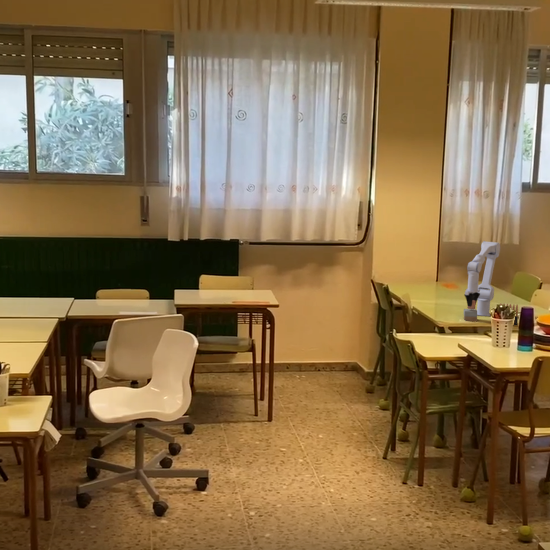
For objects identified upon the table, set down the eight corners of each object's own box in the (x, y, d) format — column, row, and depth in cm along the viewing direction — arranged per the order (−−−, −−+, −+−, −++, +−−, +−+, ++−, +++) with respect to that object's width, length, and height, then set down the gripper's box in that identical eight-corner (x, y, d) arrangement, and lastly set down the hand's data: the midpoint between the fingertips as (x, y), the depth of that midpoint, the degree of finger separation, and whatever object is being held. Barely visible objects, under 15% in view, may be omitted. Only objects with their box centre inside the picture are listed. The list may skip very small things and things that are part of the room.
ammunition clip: (517, 324, 393) (518, 304, 391) (517, 325, 391) (519, 304, 389) (497, 323, 395) (499, 302, 393) (497, 324, 393) (499, 303, 391)
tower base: (463, 318, 407) (464, 313, 406) (476, 319, 405) (476, 314, 405) (464, 321, 400) (464, 316, 399) (476, 322, 398) (477, 317, 398)
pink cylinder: (467, 307, 404) (467, 299, 403) (475, 307, 403) (475, 300, 402) (467, 308, 400) (468, 301, 399) (475, 309, 399) (476, 301, 398)
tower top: (463, 313, 406) (463, 308, 406) (475, 314, 405) (476, 309, 404) (464, 316, 399) (464, 311, 399) (477, 317, 398) (477, 311, 398)
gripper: (472, 280, 407) (471, 302, 409) (460, 283, 396) (459, 306, 399) (483, 281, 402) (482, 304, 404) (472, 284, 392) (470, 308, 394)
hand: (471, 305), depth 401 cm, fingers open, 4 cm apart
